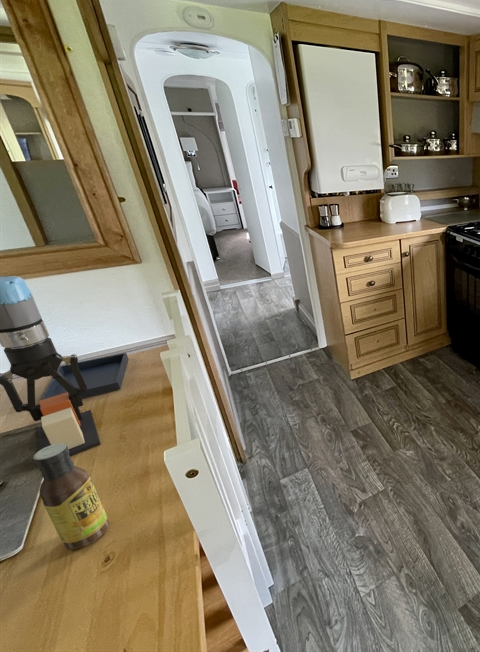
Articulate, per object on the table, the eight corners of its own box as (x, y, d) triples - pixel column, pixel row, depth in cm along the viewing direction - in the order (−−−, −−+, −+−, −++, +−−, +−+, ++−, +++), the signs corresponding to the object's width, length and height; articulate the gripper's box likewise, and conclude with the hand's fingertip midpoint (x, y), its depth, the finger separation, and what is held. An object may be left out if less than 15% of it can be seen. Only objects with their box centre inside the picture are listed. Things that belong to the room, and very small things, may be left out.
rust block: (78, 417, 100) (67, 392, 97) (80, 425, 97) (69, 400, 94) (51, 426, 96) (39, 400, 93) (53, 435, 93) (40, 409, 90)
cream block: (82, 433, 94) (70, 407, 91) (84, 443, 91) (72, 416, 88) (54, 443, 91) (40, 417, 88) (55, 454, 88) (41, 426, 85)
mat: (41, 467, 85) (40, 464, 85) (38, 430, 96) (37, 427, 96) (100, 444, 92) (99, 441, 92) (91, 411, 103) (90, 409, 103)
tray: (63, 374, 120) (59, 366, 118) (129, 360, 128) (126, 352, 127) (44, 409, 104) (39, 400, 102) (121, 391, 112) (117, 382, 111)
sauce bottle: (97, 547, 69) (55, 463, 61) (56, 554, 67) (8, 470, 60) (118, 516, 74) (83, 436, 67) (81, 522, 73) (40, 441, 66)
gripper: (-36, 362, 79) (11, 449, 88) (82, 334, 92) (113, 412, 100) (-34, 350, 84) (11, 433, 92) (78, 325, 96) (109, 400, 105)
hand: (64, 422), depth 96 cm, fingers closed on rust block, 5 cm apart
